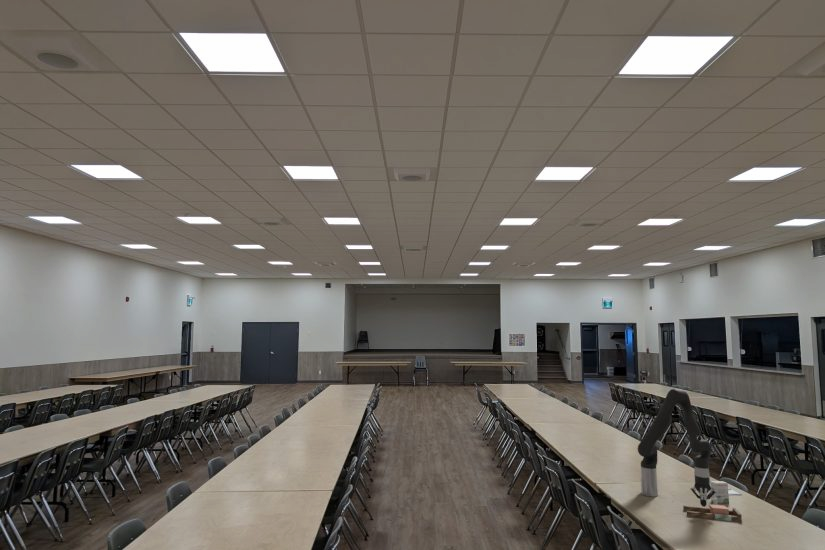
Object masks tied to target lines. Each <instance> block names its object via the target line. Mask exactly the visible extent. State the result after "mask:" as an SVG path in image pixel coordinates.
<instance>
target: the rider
mask: <svg viewBox="0 0 825 550" xmlns="http://www.w3.org/2000/svg"><path fill="white" fill-rule="evenodd" d="M708 508H710V513H712V514H721V515H729V510H730V509H729V508H728V507H727V506H726V505H720V504H718V505H714V504H709V507H708Z"/></svg>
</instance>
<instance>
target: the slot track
mask: <svg viewBox="0 0 825 550" xmlns="http://www.w3.org/2000/svg"><path fill="white" fill-rule="evenodd" d="M682 507H683V508H682V510H683V511H684V512H686V516H687V517H689V516H691V517H692V518H699V519H700V518H701V519H710V520H719V521H726V522H727V521H728V522H737V523H743V519H742V516H743V515H742V513H740V512H739V510H738V509H737V508H736V507H732V508H731V509H732V510H731V509H729V515H721V514H712V513H710V507H703V506H694V505H693V506H691V505H684V504H683V506H682Z"/></svg>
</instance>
